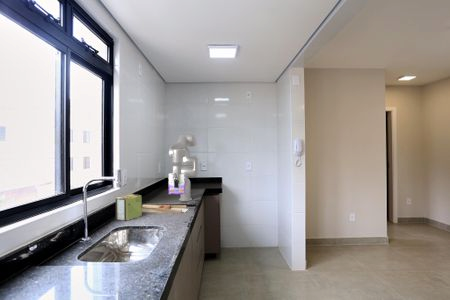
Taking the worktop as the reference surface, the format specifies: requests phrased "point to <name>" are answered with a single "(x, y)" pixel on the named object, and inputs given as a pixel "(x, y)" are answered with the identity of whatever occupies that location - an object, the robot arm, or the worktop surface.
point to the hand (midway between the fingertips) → (177, 186)
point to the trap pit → (164, 207)
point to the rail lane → (163, 209)
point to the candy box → (181, 184)
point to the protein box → (128, 207)
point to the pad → (182, 209)
